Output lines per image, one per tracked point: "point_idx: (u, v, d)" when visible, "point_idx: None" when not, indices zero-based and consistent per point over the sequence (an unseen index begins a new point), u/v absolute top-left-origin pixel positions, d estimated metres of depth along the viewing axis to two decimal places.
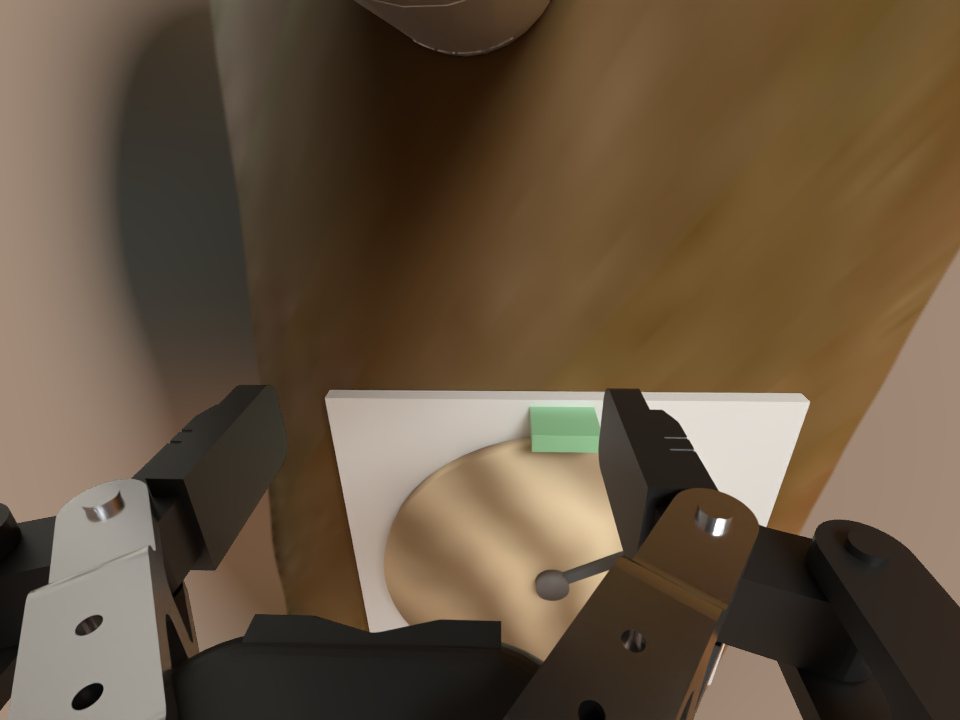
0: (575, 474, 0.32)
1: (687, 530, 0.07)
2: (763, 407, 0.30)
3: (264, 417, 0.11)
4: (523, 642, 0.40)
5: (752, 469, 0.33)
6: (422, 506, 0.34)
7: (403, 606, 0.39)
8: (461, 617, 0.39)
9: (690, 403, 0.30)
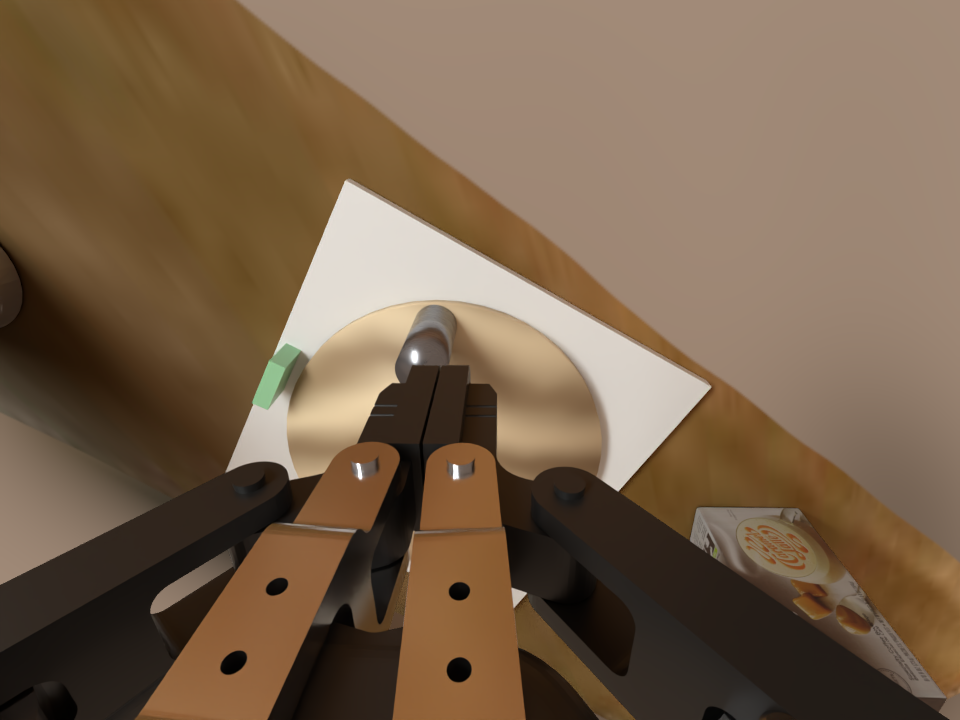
0: (329, 387, 0.37)
1: (448, 485, 0.08)
2: (336, 220, 0.33)
3: None
4: None
5: (405, 250, 0.34)
6: None
7: None
8: None
9: (309, 275, 0.35)
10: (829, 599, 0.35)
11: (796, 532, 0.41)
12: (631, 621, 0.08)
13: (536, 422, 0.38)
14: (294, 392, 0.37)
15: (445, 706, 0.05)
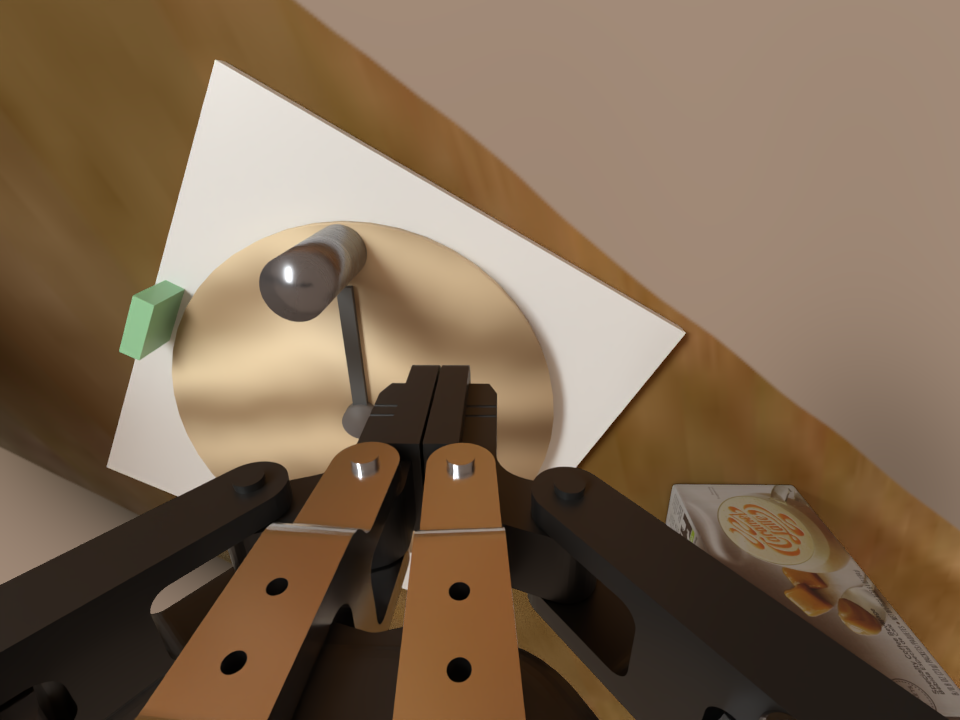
0: (218, 333, 0.30)
1: (448, 485, 0.08)
2: (209, 115, 0.26)
3: None
4: None
5: (298, 155, 0.27)
6: (219, 467, 0.35)
7: None
8: None
9: (183, 189, 0.28)
10: (829, 591, 0.28)
11: (790, 512, 0.34)
12: (631, 621, 0.08)
13: (472, 377, 0.31)
14: (177, 340, 0.31)
15: (445, 706, 0.05)
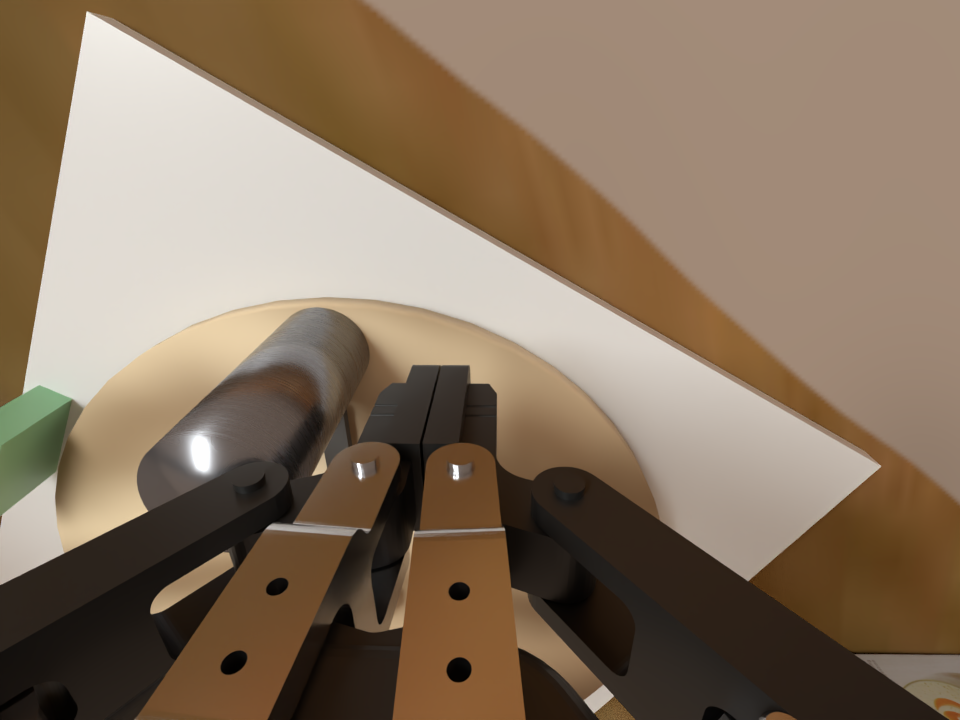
0: (126, 473, 0.19)
1: (448, 485, 0.08)
2: (86, 116, 0.14)
3: None
4: None
5: (250, 187, 0.15)
6: None
7: None
8: None
9: (53, 244, 0.16)
10: None
11: None
12: (631, 621, 0.08)
13: None
14: (60, 483, 0.19)
15: (445, 706, 0.05)
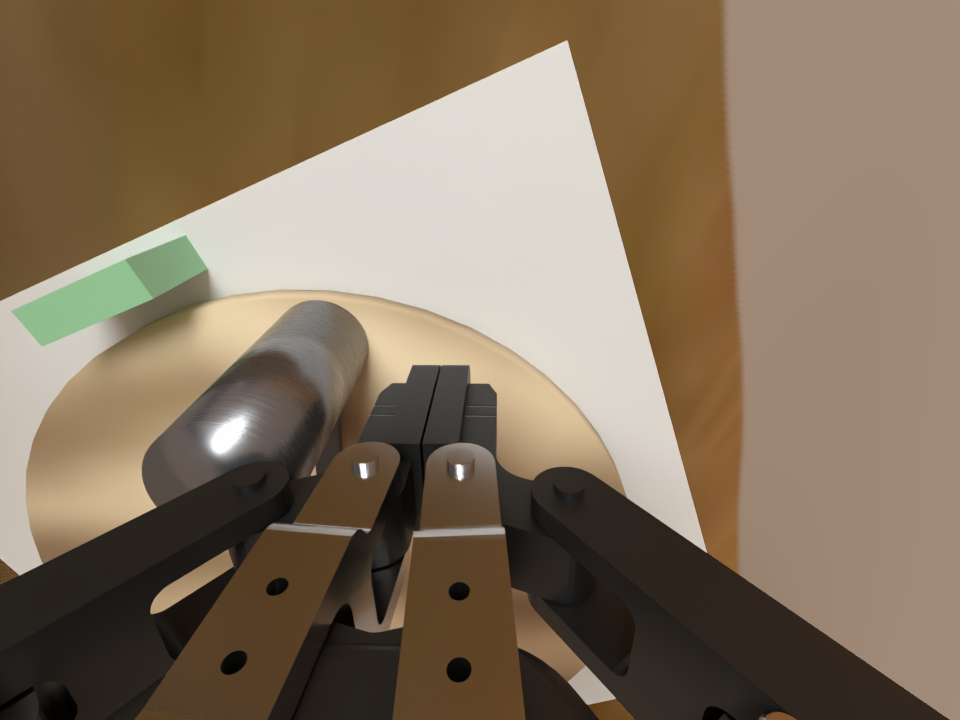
0: (105, 451, 0.18)
1: (448, 485, 0.08)
2: (482, 98, 0.14)
3: None
4: None
5: (551, 249, 0.16)
6: None
7: None
8: None
9: (340, 151, 0.15)
10: None
11: None
12: (631, 621, 0.08)
13: None
14: (33, 457, 0.18)
15: (445, 706, 0.05)
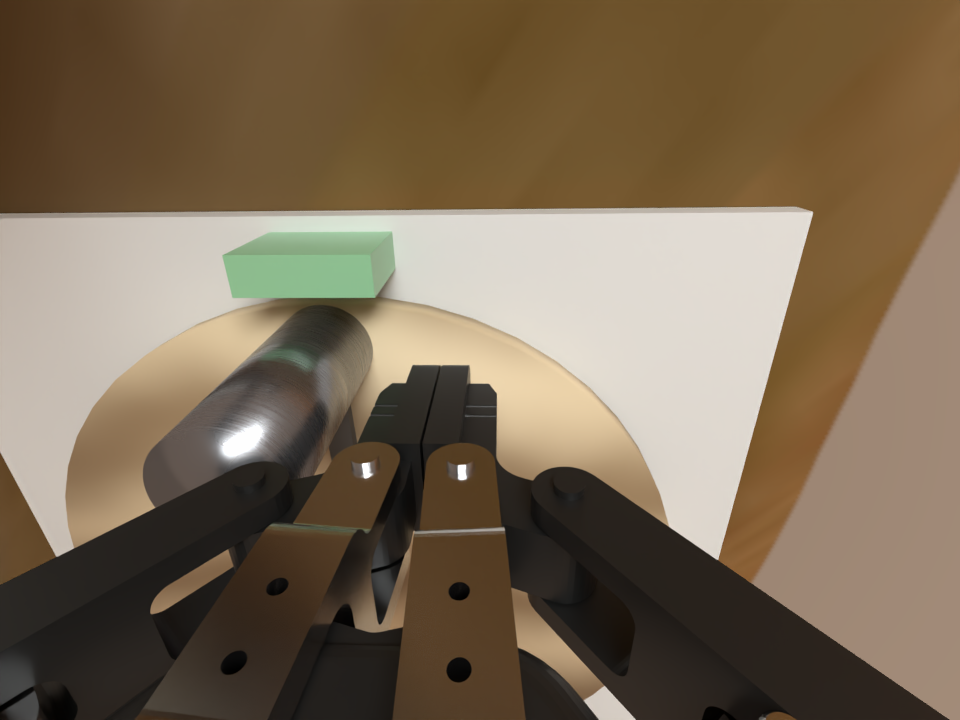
0: (134, 472, 0.19)
1: (448, 485, 0.08)
2: (721, 227, 0.15)
3: None
4: None
5: (707, 366, 0.17)
6: None
7: None
8: None
9: (577, 219, 0.15)
10: None
11: None
12: (631, 621, 0.08)
13: None
14: (70, 482, 0.19)
15: (445, 706, 0.05)
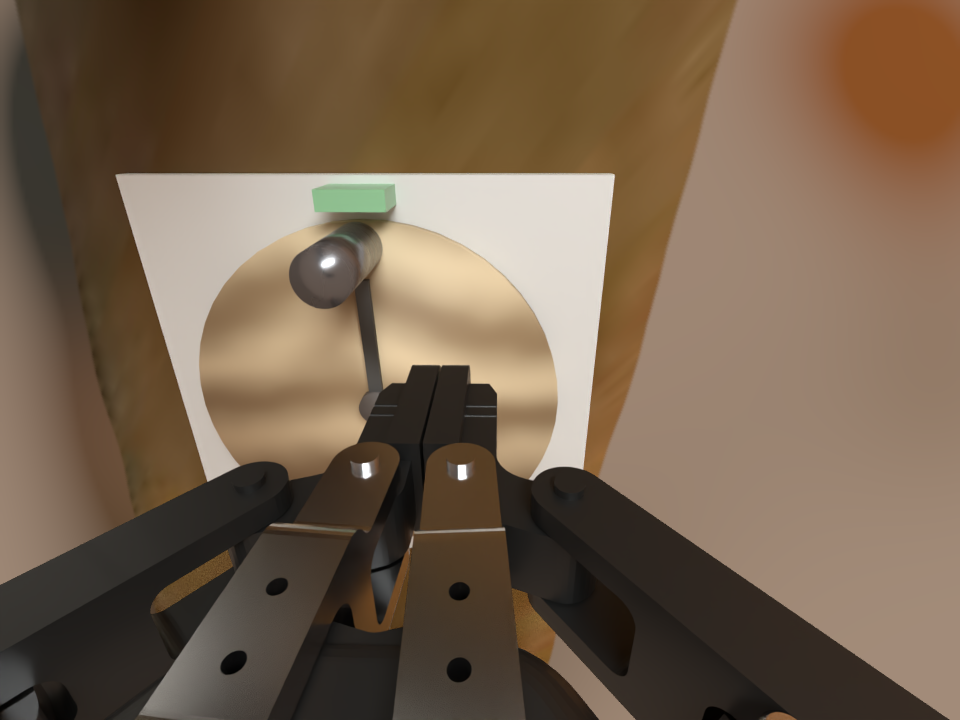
0: (243, 326, 0.32)
1: (448, 485, 0.08)
2: (568, 182, 0.29)
3: None
4: None
5: (570, 264, 0.31)
6: (242, 454, 0.37)
7: None
8: None
9: (492, 178, 0.29)
10: None
11: None
12: (631, 621, 0.08)
13: (481, 364, 0.33)
14: (204, 333, 0.33)
15: (445, 706, 0.05)
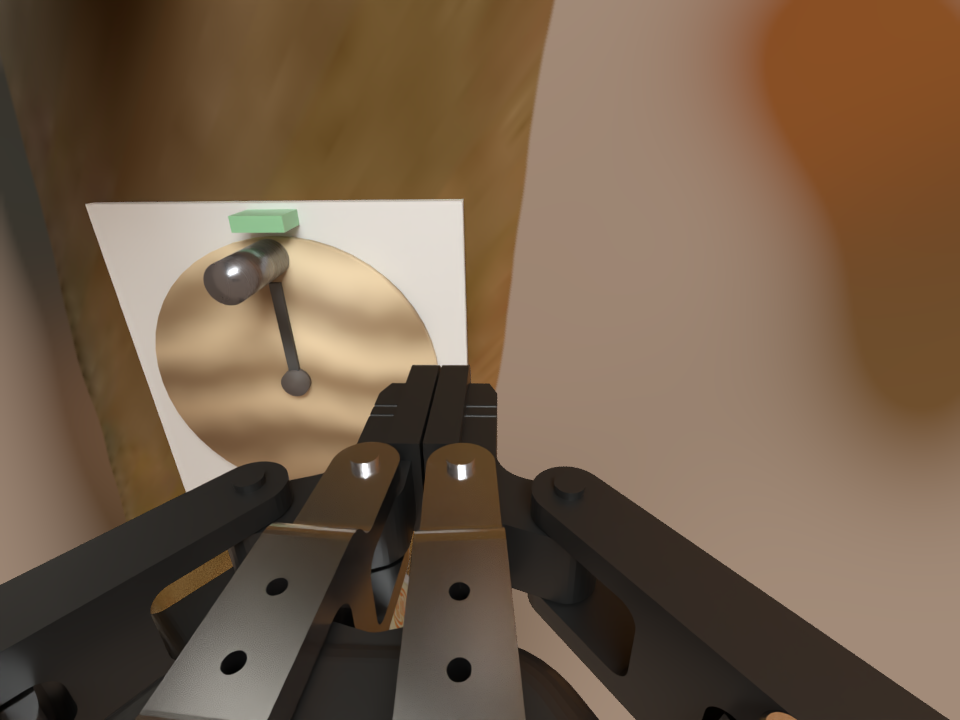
0: (188, 319, 0.42)
1: (448, 485, 0.08)
2: (428, 207, 0.38)
3: None
4: None
5: (437, 268, 0.40)
6: (194, 421, 0.46)
7: None
8: (320, 455, 0.47)
9: (370, 204, 0.38)
10: None
11: None
12: (631, 621, 0.08)
13: (374, 347, 0.42)
14: (158, 325, 0.42)
15: (445, 706, 0.05)
